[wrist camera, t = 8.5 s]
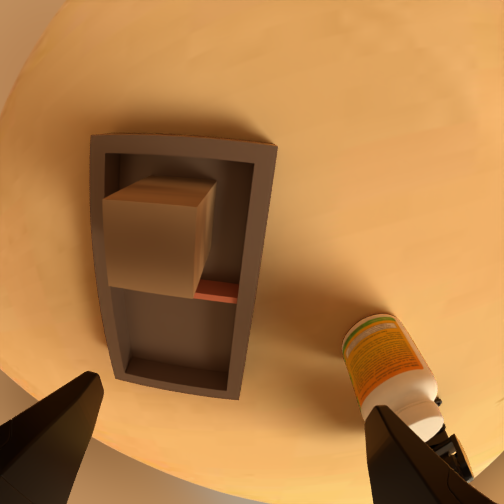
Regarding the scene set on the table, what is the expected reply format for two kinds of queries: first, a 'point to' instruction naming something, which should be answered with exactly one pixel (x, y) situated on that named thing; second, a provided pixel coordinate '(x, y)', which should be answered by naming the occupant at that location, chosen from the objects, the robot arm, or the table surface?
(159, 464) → the table surface
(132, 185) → the walnut block
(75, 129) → the table surface
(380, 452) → the robot arm
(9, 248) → the table surface
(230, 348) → the tray
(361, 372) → the supplement bottle
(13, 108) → the table surface
